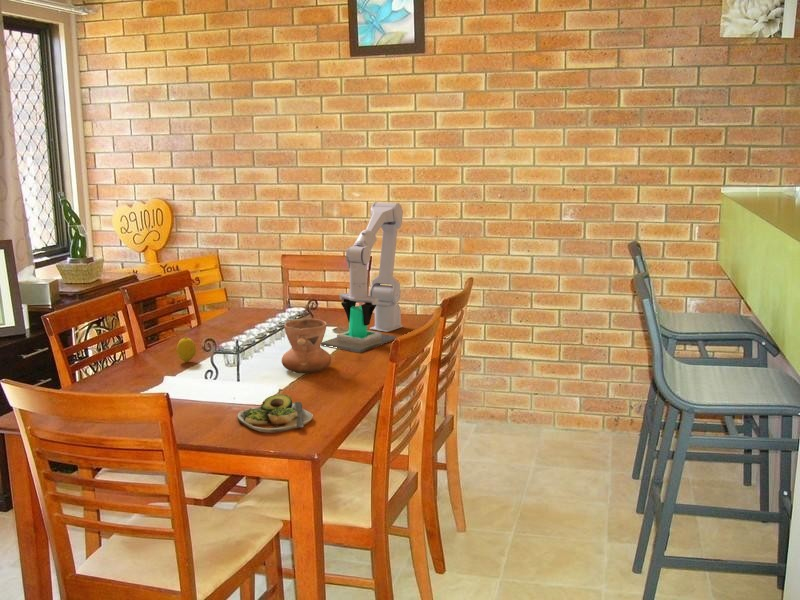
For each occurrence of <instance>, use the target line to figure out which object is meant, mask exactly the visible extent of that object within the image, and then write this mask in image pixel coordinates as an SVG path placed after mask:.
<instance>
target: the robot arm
mask: <svg viewBox="0 0 800 600" xmlns="http://www.w3.org/2000/svg"><path fill="white" fill-rule="evenodd" d="M403 213H404V210H403V208H402V204H400V202H392V203H391V202H377V201H375V202H373V203H372V204H371V206H370V220H369V222H368V224H367V226H366V229H364V230H362V231H360V233H359V235H358V237H357V239H355V242H354V243H353V245H350V246H349V247H348V248H347V250H346V254H345V260H346V263H347V268H348V270H349V293H340V294H339V300H340V301H342V302H341V303H340V304H341V306H342V308H343V310H344V313H345V315H346V318H347V321H348V323H349V321H350V308H351V307H352V306H356V304H357V303H361V305H360V306H361V307H362V311H363V317H364V325H365V326H366V325H367V326H369V325H370V323H371V319H372V315H373V312H374V326H371V327H369V330H371V331H373V330H374V331H377V332H385V333H389V332H393V331H395V330H397V329H401V328H404V327H403V325H402V319H401V318H402V314H401V312H402V309H401V306H400V305H399V303H398V302H399V301H400V300H401V283H400V282H399V281H398V280H397V279H396V278H395V276H394V271H395V270H394V269H395V259H396V249H397V248H396V247H397V240H398V239H397V237H398V230H399V229H400V228H402V226H403V216H404V215H403ZM380 229H382V242H381V249H380V250H381V251H380V261H379V269H378V270H379V271H378V275H377V276H376V277H374V278H373V279H372V280H371V285H370V288H369V291H368V264H369V262H370V260H371V255H372V249H373V247H374V245H375V243H376V242H377V236H376V235H377V233H378V232H379V230H380ZM362 303H363V304H362Z"/></svg>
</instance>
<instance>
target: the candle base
mask: <svg viewBox="0 0 800 600" xmlns="http://www.w3.org/2000/svg"><path fill="white" fill-rule="evenodd" d="M395 338H397V336H396V335H389V334H382V332H381V331H375V330H374V331H373V330H370V329H369V330H368V329H367V336H366V337H363V338H359V337H353V336H349V330H347V331H344V332H342V333H339V334H336V337H334V338H331V339H328V340H324V341H322V343H321V345H326V346H333V347H337V348H340V349H339V350H342V349H343V350H344V351H347V350H348V351H349V352H355V353H359V354H361V353H364V352H367V351H368V350H372V349H375V348H377V347H376V346H378V347H380V346H379V345H381V344H383V345H385V344H384V343H386V342H389V341H391V340H392V342H394V341H395V340H394V339H395ZM397 339H398V338H397ZM393 340H394V341H393ZM389 343H390V342H389ZM386 344H387V343H386ZM321 345H320V346H321ZM326 346H325V347H326ZM381 346H382V345H381ZM374 347H375V348H374ZM337 348H336V349H337ZM371 348H372V349H371ZM343 350H342V351H343ZM366 350H367V351H366ZM348 351H347V352H348Z"/></svg>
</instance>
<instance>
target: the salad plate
mask: <svg viewBox="0 0 800 600" xmlns="http://www.w3.org/2000/svg"><path fill="white" fill-rule="evenodd" d="M236 417H237V421H238V422H239V423H240V424H241V425H244V426H246V428H247V427H248V428H249V429H251V430H255V431H257V432H260V433H269V434H271V433H272V434H273V433H282V432H283V433H284V432H287V431H291V430H296V429H299V428H300V429H301V428H304V426H305V425H307V424H308V423H310V422H311V420H313V417H314V414H313V413H312V412H310V411H308V410H306V409H304V408H303V403H302V402H301V401H294V403H293V400H292V398H291V397H290V396H289V395H287V394H281V393H279V394H273V395H271V396H269V397H266V398H265V399H264V400H263V401H262V404H261V406H257V407H252V408H245V409H243V410H240V411H239V412H238V414H237V416H236ZM254 425H255V426H254ZM257 425H258V426H257ZM260 425H272V426H274V427H260Z"/></svg>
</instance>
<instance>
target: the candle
mask: <svg viewBox="0 0 800 600" xmlns="http://www.w3.org/2000/svg"><path fill="white" fill-rule="evenodd" d="M358 303H359V305H358V306H356V305H355V306H352V307H351V308H350V321H349V322H348V331H349V336H353V337H359V338H363V337H366V336H367V330H368V325H366V326H365V325H364V317H363V311H362V307H361V305H360V303H361V302H358Z"/></svg>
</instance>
